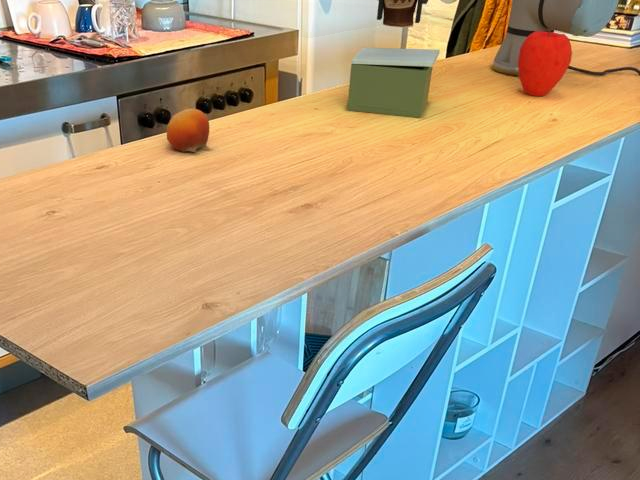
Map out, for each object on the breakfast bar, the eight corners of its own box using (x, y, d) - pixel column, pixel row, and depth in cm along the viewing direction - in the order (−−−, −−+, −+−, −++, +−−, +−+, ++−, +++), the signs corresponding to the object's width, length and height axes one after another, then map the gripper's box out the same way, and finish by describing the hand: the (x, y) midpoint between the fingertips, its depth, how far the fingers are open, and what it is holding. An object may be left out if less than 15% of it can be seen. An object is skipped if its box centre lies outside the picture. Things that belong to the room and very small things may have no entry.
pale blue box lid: (439, 53, 178) (439, 49, 178) (432, 66, 168) (433, 62, 167) (362, 51, 182) (362, 47, 181) (351, 63, 172) (351, 59, 171)
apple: (564, 92, 196) (580, 28, 188) (559, 102, 188) (575, 36, 179) (514, 86, 199) (528, 23, 191) (507, 96, 191) (520, 31, 182)
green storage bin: (427, 102, 185) (434, 57, 179) (420, 117, 174) (427, 71, 169) (358, 95, 188) (362, 51, 182) (347, 110, 177) (351, 64, 172)
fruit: (202, 151, 147) (182, 106, 144) (172, 167, 152) (153, 124, 149) (226, 141, 152) (208, 97, 149) (197, 157, 157) (179, 115, 155)
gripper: (360, -120, 155) (347, 19, 169) (467, -114, 151) (445, 27, 166) (366, -121, 160) (354, 13, 175) (470, -116, 157) (448, 21, 171)
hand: (398, 20), depth 170 cm, fingers closed on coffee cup, 7 cm apart
